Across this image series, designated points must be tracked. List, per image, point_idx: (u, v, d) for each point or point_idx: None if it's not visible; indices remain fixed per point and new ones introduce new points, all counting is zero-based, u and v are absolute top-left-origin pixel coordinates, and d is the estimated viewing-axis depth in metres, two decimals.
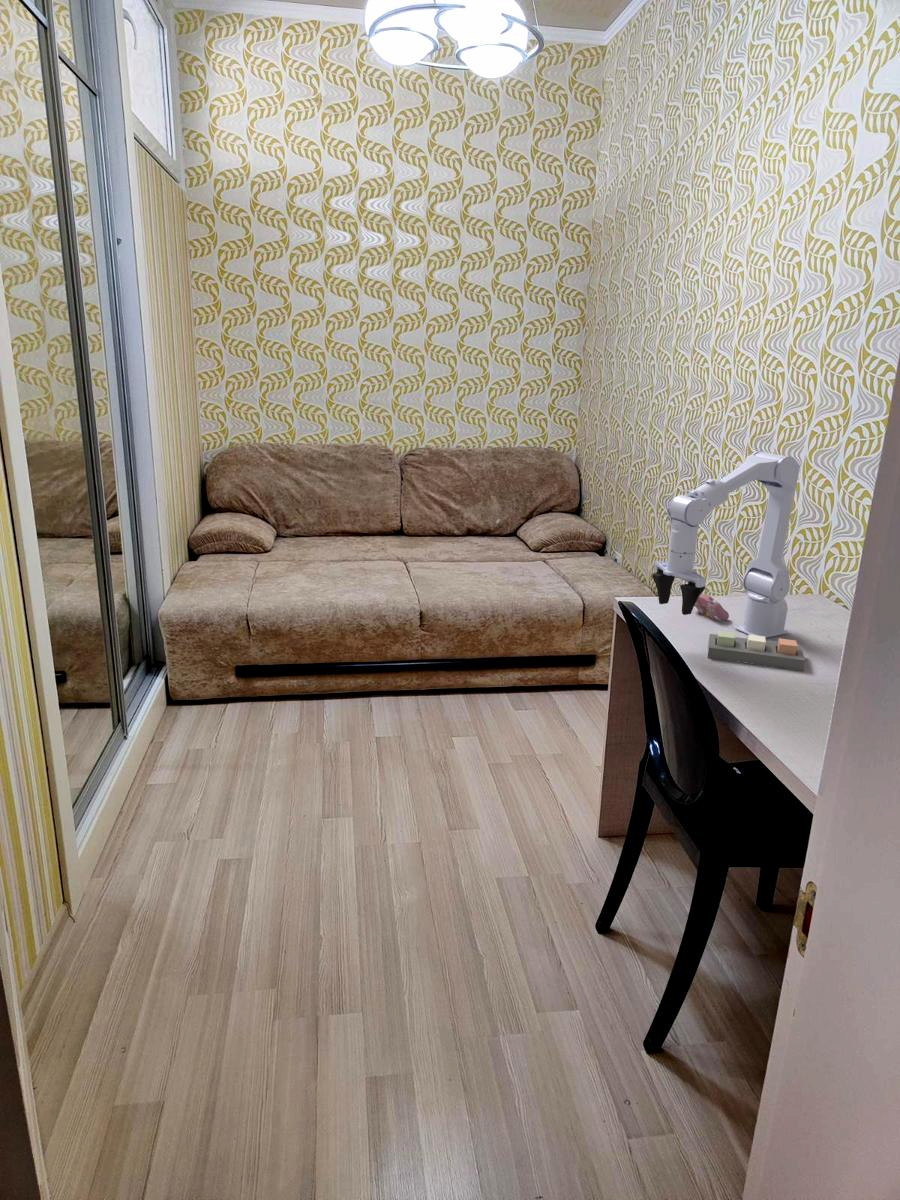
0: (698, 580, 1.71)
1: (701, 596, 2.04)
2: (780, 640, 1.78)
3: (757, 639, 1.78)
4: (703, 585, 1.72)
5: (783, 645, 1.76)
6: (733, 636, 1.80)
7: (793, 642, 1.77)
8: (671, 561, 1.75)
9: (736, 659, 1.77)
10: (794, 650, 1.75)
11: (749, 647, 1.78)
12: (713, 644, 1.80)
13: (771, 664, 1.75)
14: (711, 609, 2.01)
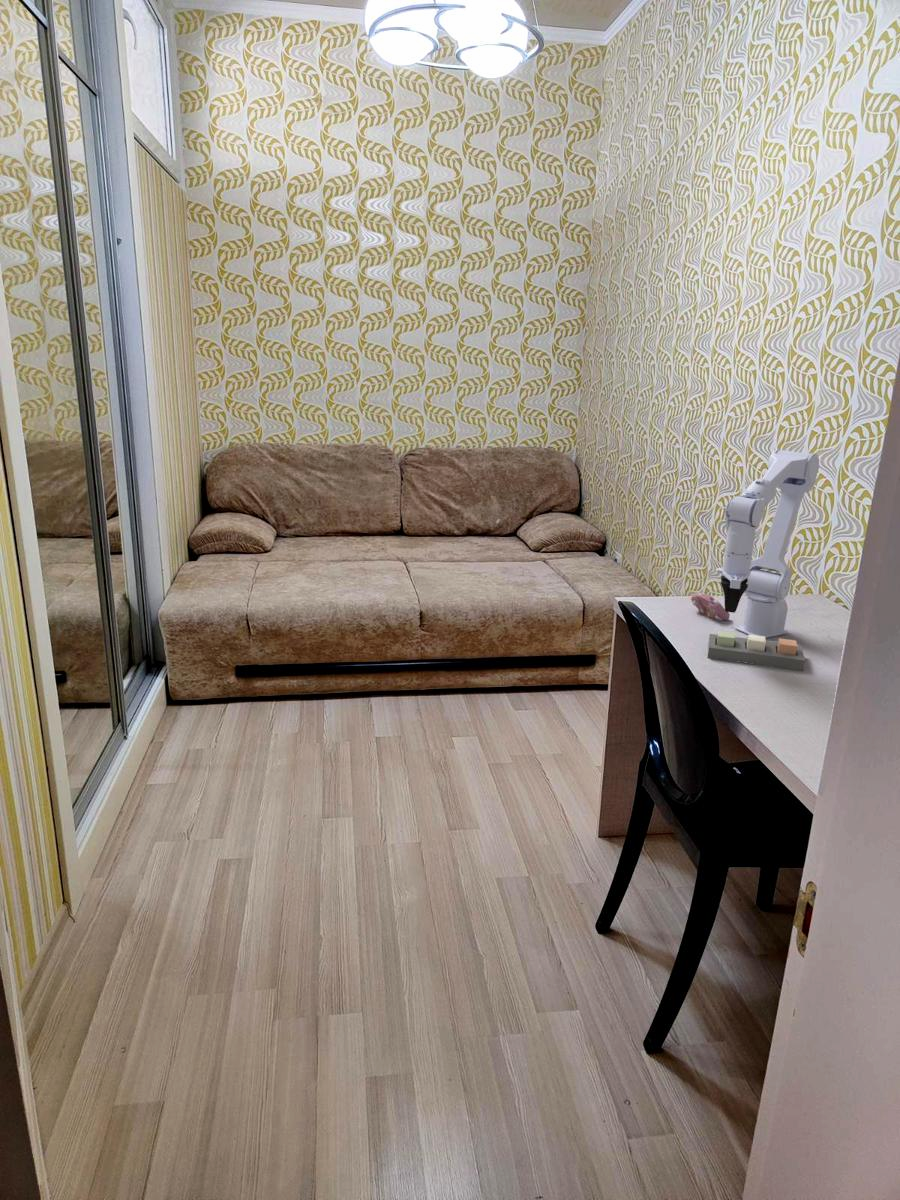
0: (731, 580, 1.70)
1: (702, 596, 2.04)
2: (780, 640, 1.78)
3: (757, 639, 1.78)
4: (737, 587, 1.70)
5: (783, 645, 1.76)
6: (733, 636, 1.80)
7: (793, 642, 1.77)
8: None
9: (736, 659, 1.77)
10: (794, 650, 1.75)
11: (749, 647, 1.78)
12: (713, 644, 1.80)
13: (771, 664, 1.75)
14: (711, 609, 2.01)
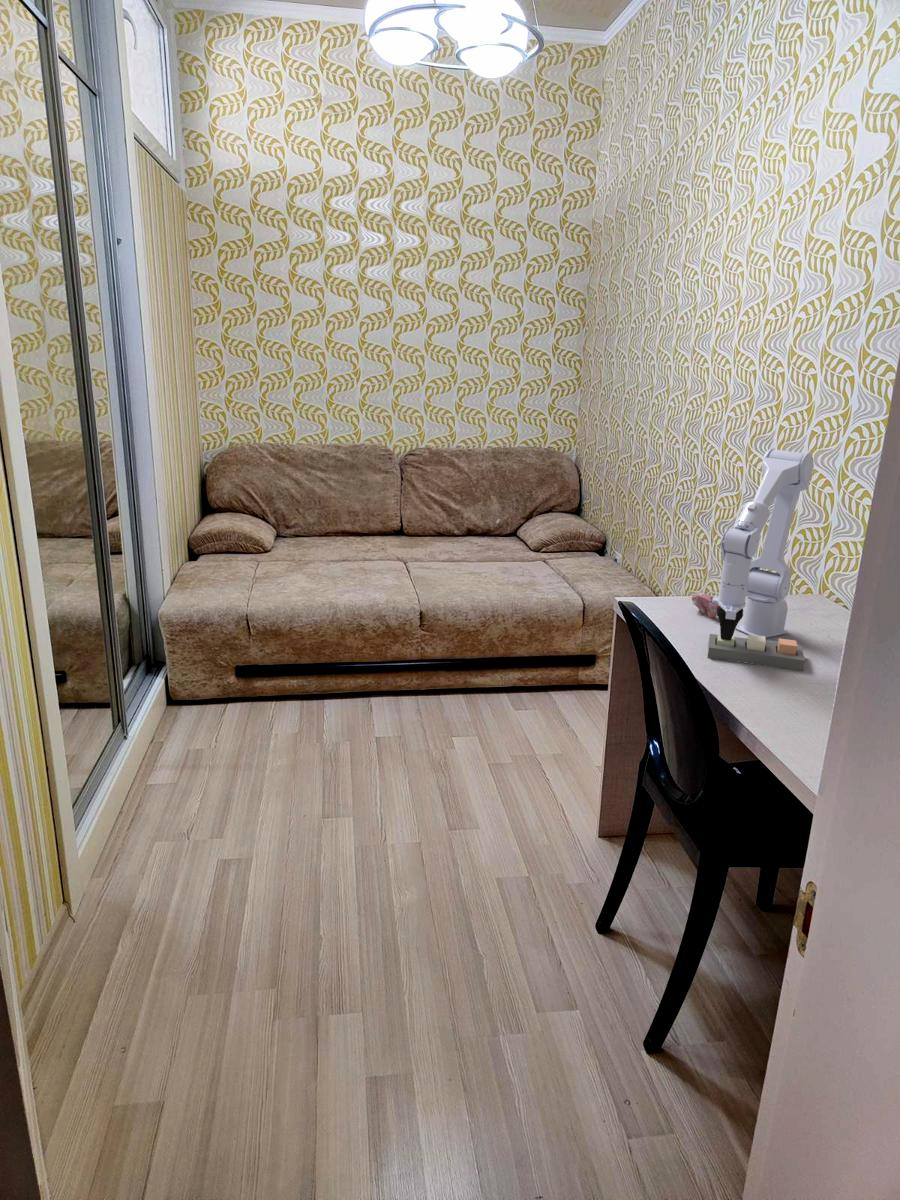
0: (726, 611, 1.72)
1: (702, 596, 2.04)
2: (780, 640, 1.78)
3: (757, 639, 1.78)
4: (733, 618, 1.72)
5: (783, 645, 1.76)
6: (732, 640, 1.80)
7: (793, 642, 1.77)
8: (719, 590, 1.78)
9: (736, 659, 1.77)
10: (794, 650, 1.75)
11: (749, 647, 1.78)
12: (713, 644, 1.80)
13: (771, 664, 1.75)
14: (712, 609, 2.01)
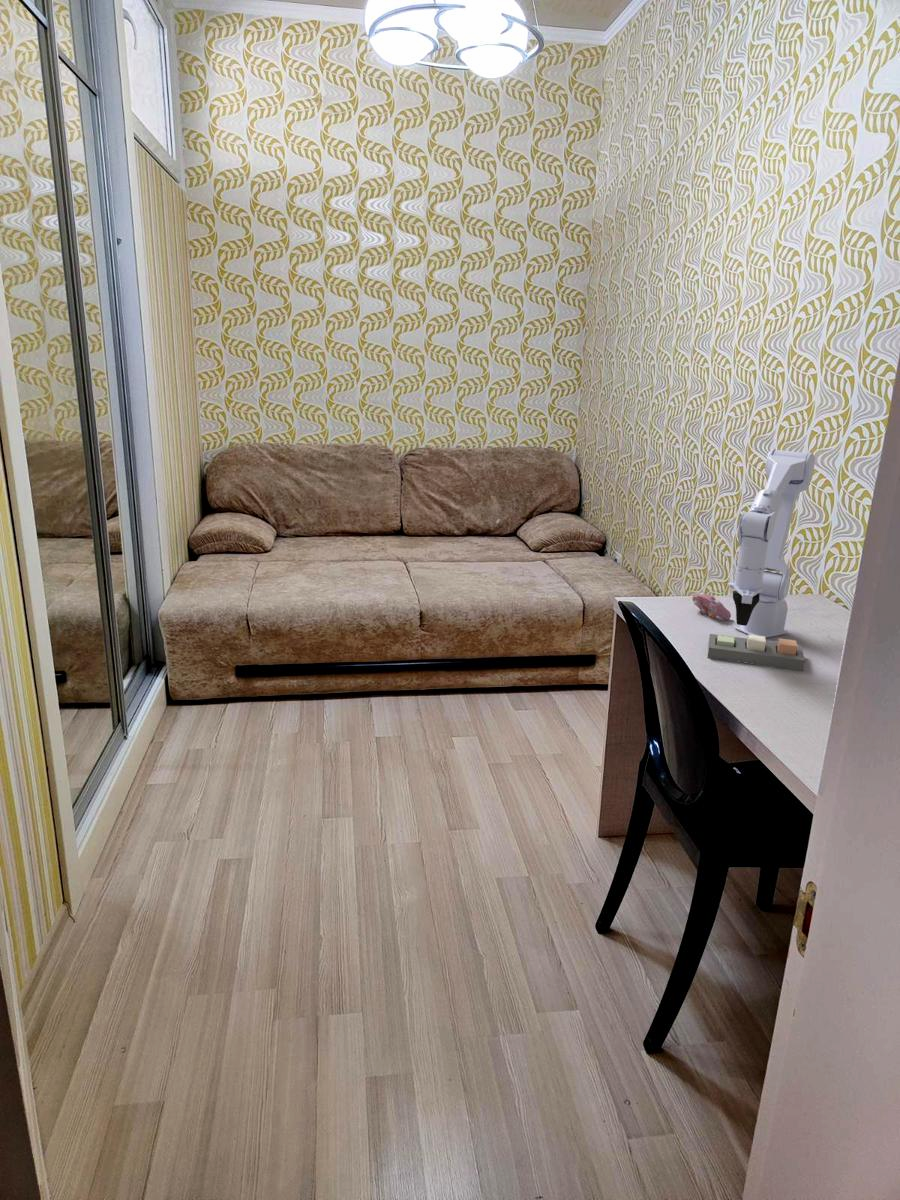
0: (742, 595, 1.70)
1: (703, 596, 2.04)
2: (780, 640, 1.78)
3: (757, 639, 1.78)
4: (749, 602, 1.70)
5: (783, 645, 1.76)
6: (732, 641, 1.80)
7: (793, 642, 1.77)
8: (735, 574, 1.76)
9: (736, 659, 1.77)
10: (794, 650, 1.75)
11: (749, 647, 1.78)
12: (713, 644, 1.80)
13: (771, 664, 1.75)
14: (713, 609, 2.01)
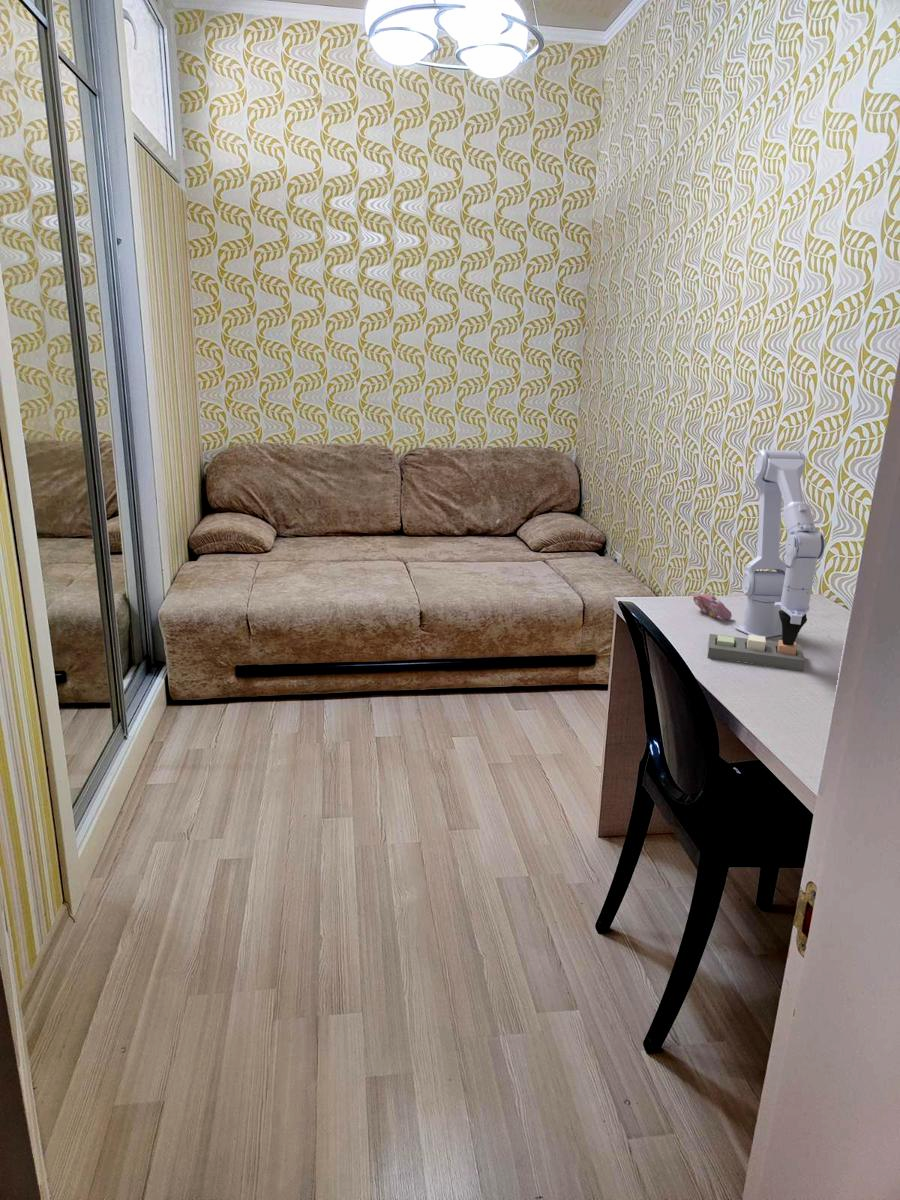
0: (791, 616, 1.68)
1: (704, 596, 2.04)
2: (780, 641, 1.78)
3: (757, 639, 1.78)
4: (798, 622, 1.68)
5: (783, 647, 1.76)
6: (732, 641, 1.80)
7: (793, 644, 1.77)
8: (782, 594, 1.74)
9: (736, 659, 1.77)
10: (794, 652, 1.76)
11: (749, 647, 1.78)
12: (713, 644, 1.80)
13: (771, 664, 1.75)
14: (714, 609, 2.01)
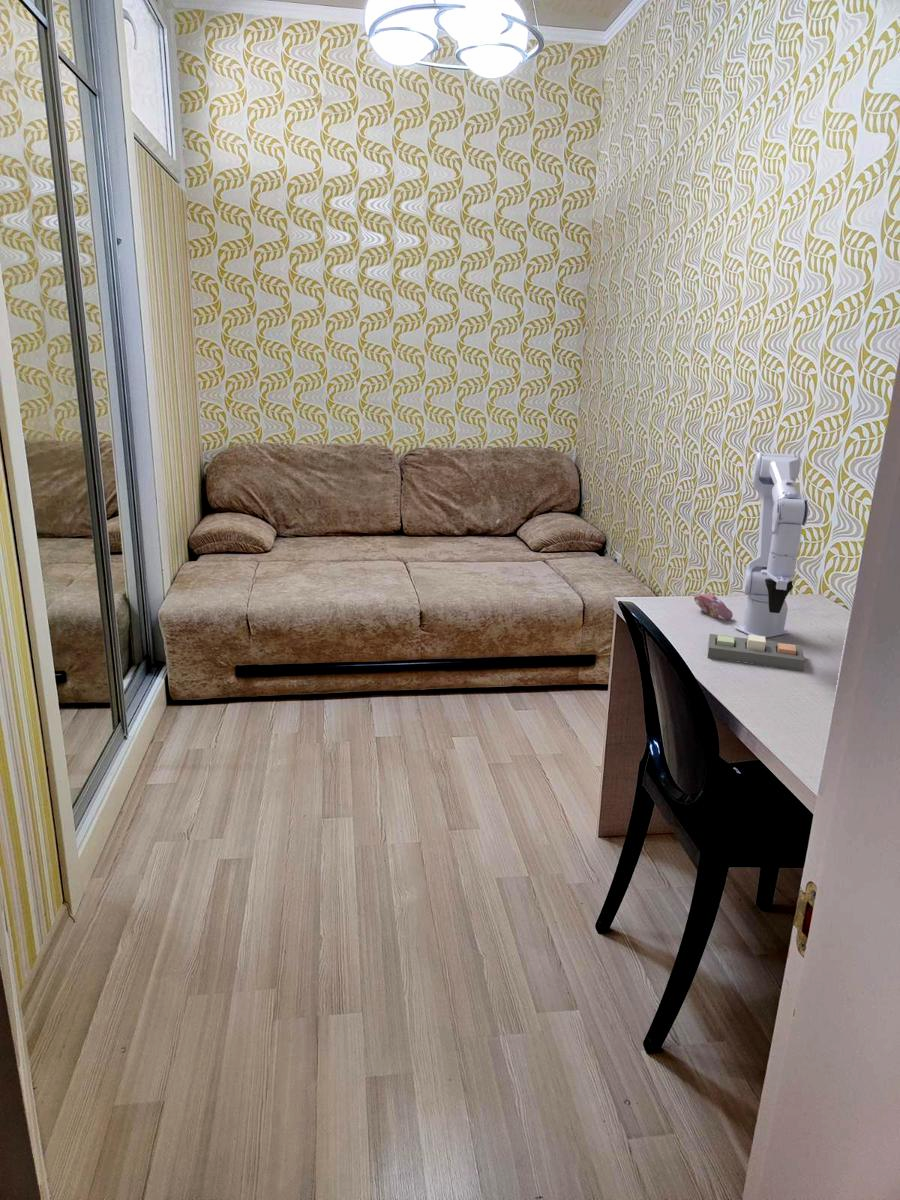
0: (777, 581, 1.70)
1: (705, 595, 2.04)
2: (779, 644, 1.79)
3: (757, 639, 1.78)
4: (784, 588, 1.69)
5: (783, 650, 1.76)
6: (732, 641, 1.80)
7: (792, 647, 1.77)
8: (768, 561, 1.76)
9: (736, 659, 1.77)
10: None
11: (749, 647, 1.78)
12: (713, 644, 1.80)
13: (771, 664, 1.75)
14: (715, 609, 2.02)
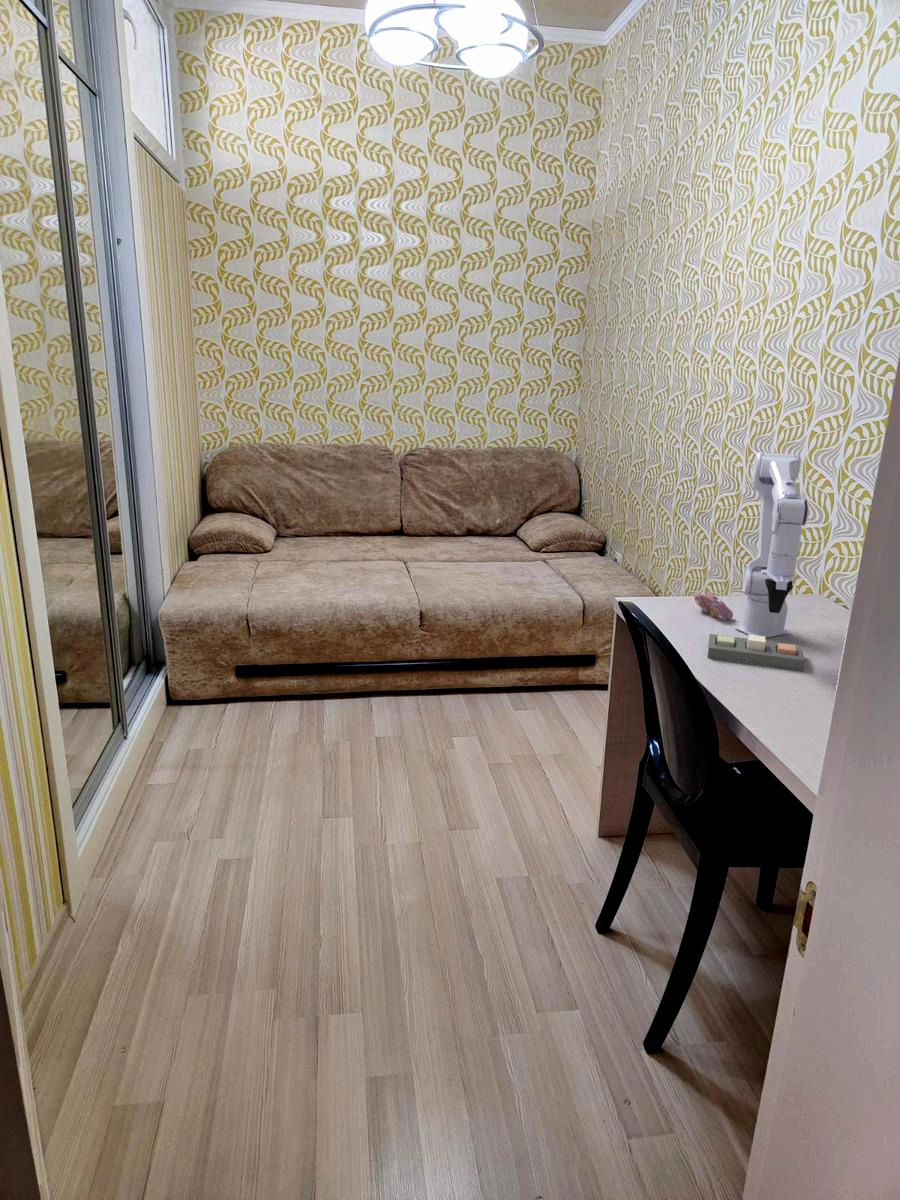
0: (777, 581, 1.70)
1: (705, 595, 2.04)
2: (779, 644, 1.79)
3: (757, 639, 1.78)
4: (784, 588, 1.69)
5: (783, 650, 1.76)
6: (732, 641, 1.80)
7: (792, 647, 1.77)
8: (768, 561, 1.76)
9: (736, 659, 1.77)
10: None
11: (749, 647, 1.78)
12: (713, 644, 1.80)
13: (771, 664, 1.75)
14: (715, 608, 2.02)
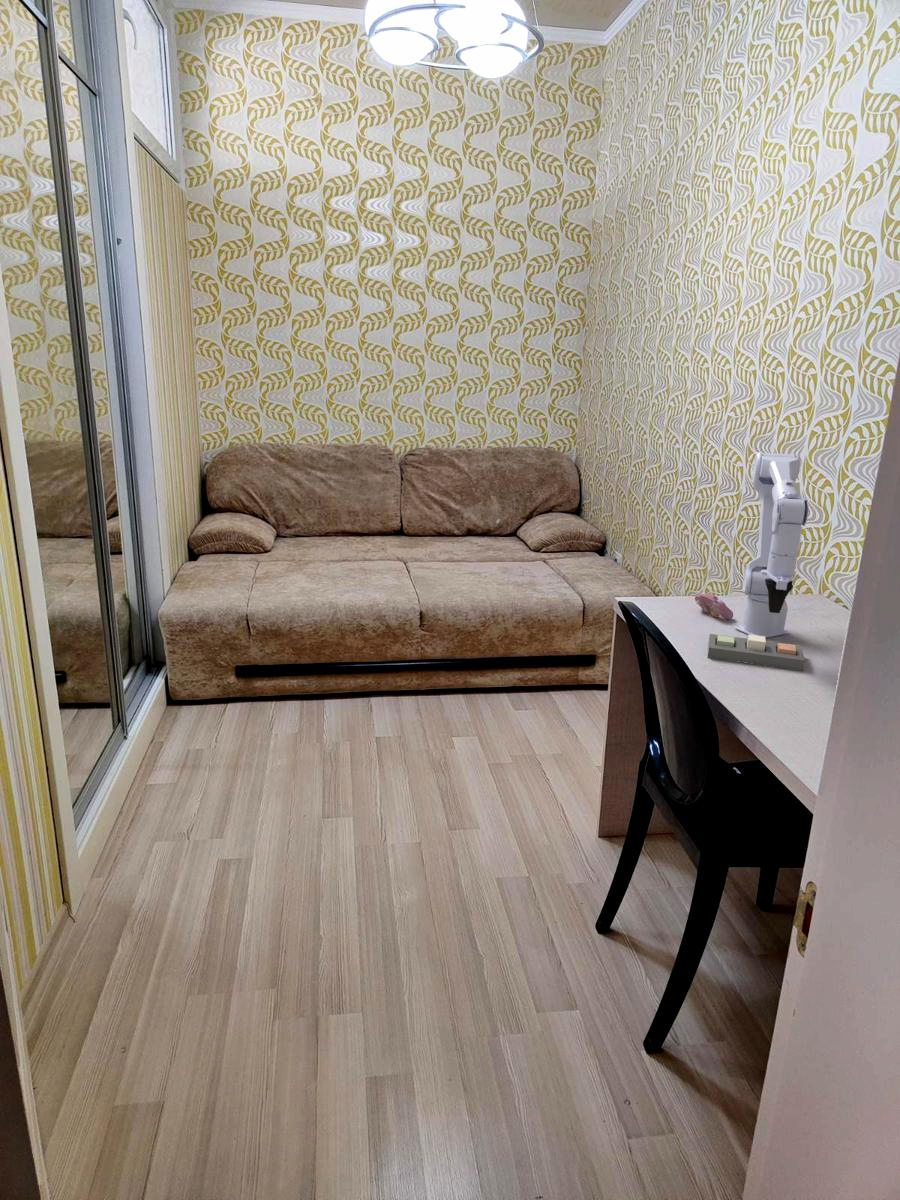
0: (777, 581, 1.70)
1: (705, 595, 2.04)
2: (779, 644, 1.79)
3: (757, 639, 1.78)
4: (784, 588, 1.69)
5: (783, 650, 1.76)
6: (732, 641, 1.80)
7: (792, 647, 1.77)
8: (768, 561, 1.76)
9: (736, 659, 1.77)
10: None
11: (749, 647, 1.78)
12: (713, 644, 1.80)
13: (771, 664, 1.75)
14: (715, 609, 2.02)
